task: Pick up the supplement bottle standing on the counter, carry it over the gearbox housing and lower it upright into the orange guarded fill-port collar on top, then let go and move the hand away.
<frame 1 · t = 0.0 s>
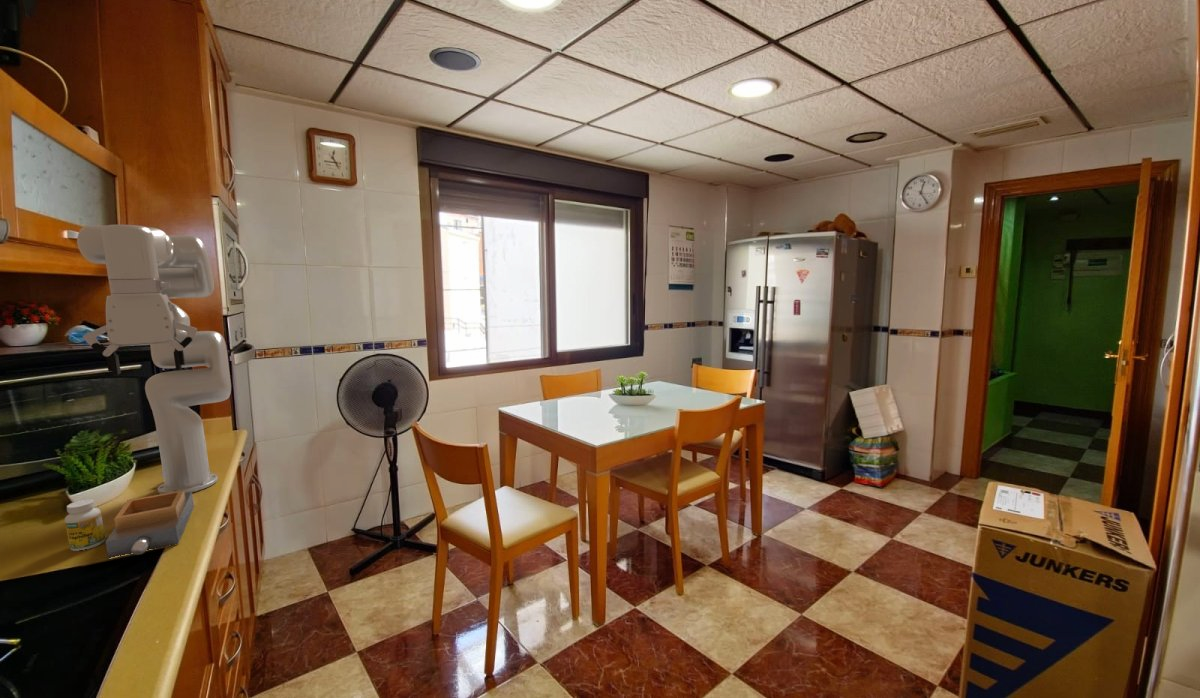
hand: (148, 371, 103), 37 cm above the table, tool pointing down, fingers open, 9 cm apart
supplement bottle: (88, 545, 107), on the table
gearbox: (155, 530, 113), on the table
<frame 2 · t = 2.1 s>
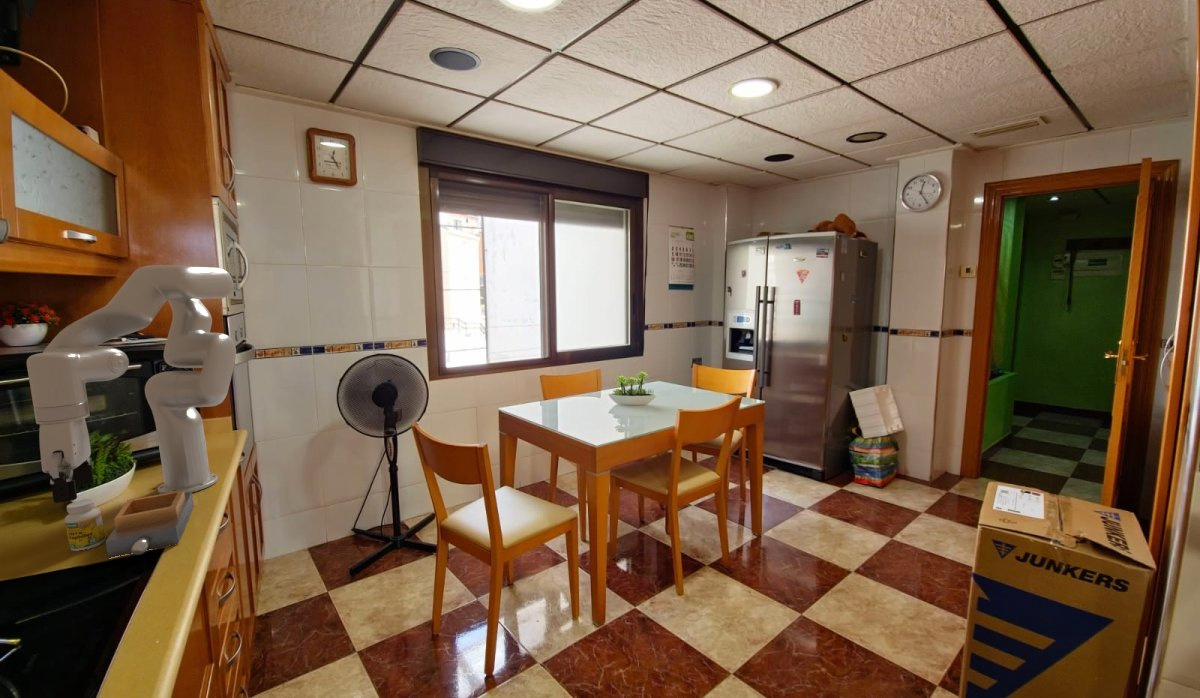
hand: (74, 492, 104), 12 cm above the table, tool pointing down, fingers open, 9 cm apart
nothing on the table moved.
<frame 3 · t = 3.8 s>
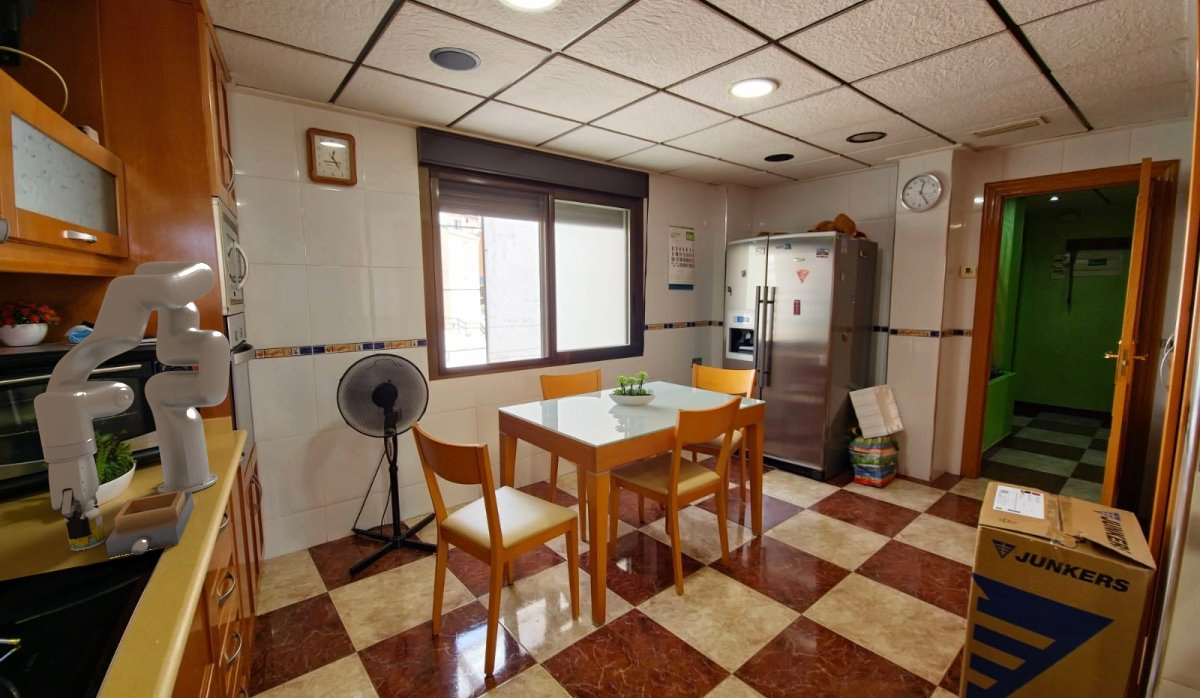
hand: (85, 529, 106), 3 cm above the table, tool pointing down, fingers closed on supplement bottle, 5 cm apart
supplement bottle: (88, 545, 107), on the table, touching gripper
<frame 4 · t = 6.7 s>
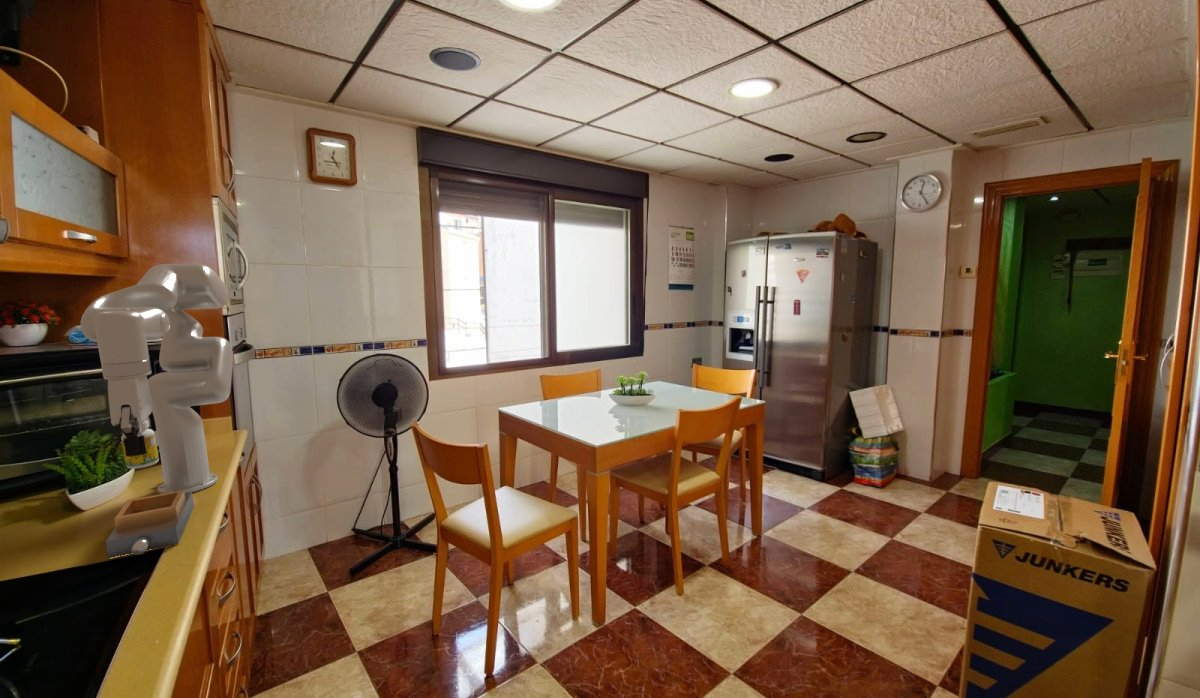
hand: (140, 449, 110), 19 cm above the table, tool pointing down, fingers closed on supplement bottle, 5 cm apart
supplement bottle: (143, 465, 110), point 16 cm above the table, touching gripper
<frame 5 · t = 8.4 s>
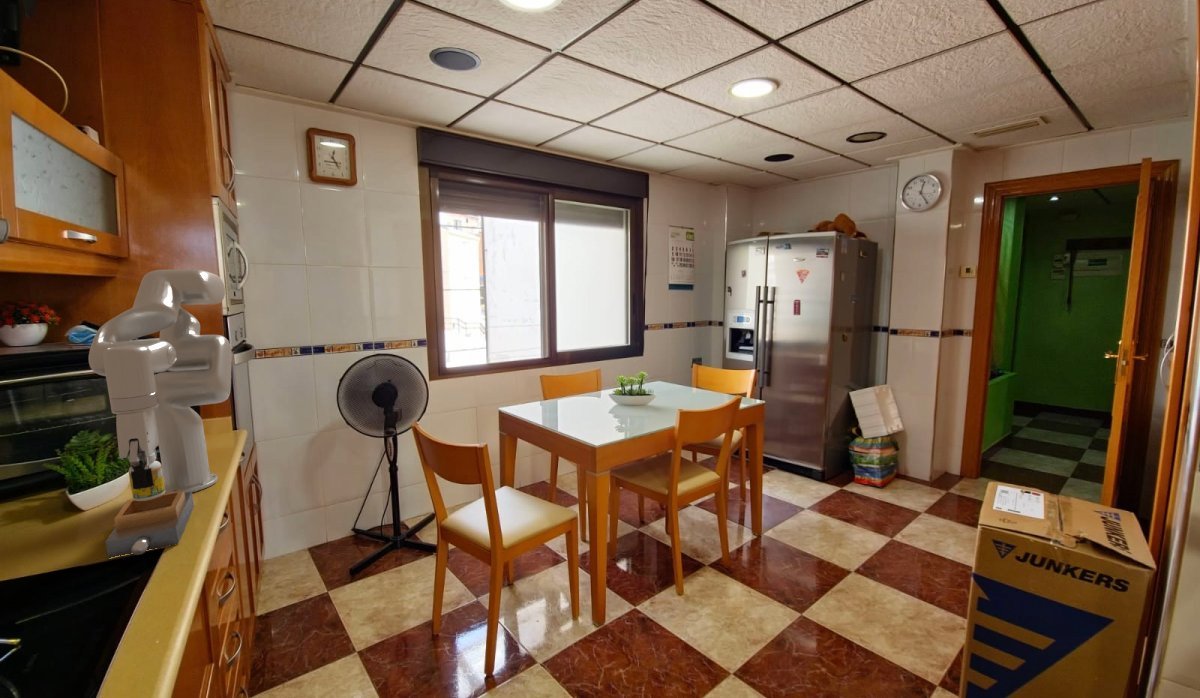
hand: (147, 481, 111), 12 cm above the table, tool pointing down, fingers closed on supplement bottle, 5 cm apart
supplement bottle: (149, 497, 111), point 8 cm above the table, touching gripper
when the fingers open (9 cm above the table, at t = 9.8 s): supplement bottle drops 1 cm, resting on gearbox.
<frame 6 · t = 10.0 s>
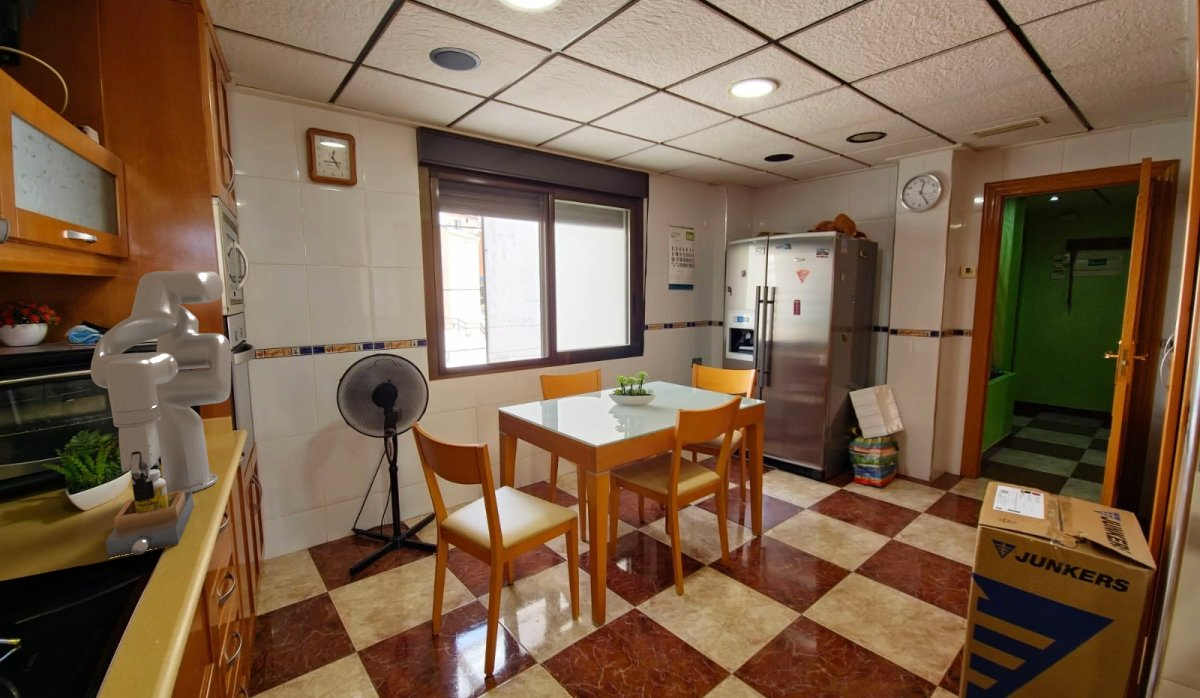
hand: (149, 492, 111), 9 cm above the table, tool pointing down, fingers open, 7 cm apart
supplement bottle: (153, 514, 112), point 4 cm above the table, touching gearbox
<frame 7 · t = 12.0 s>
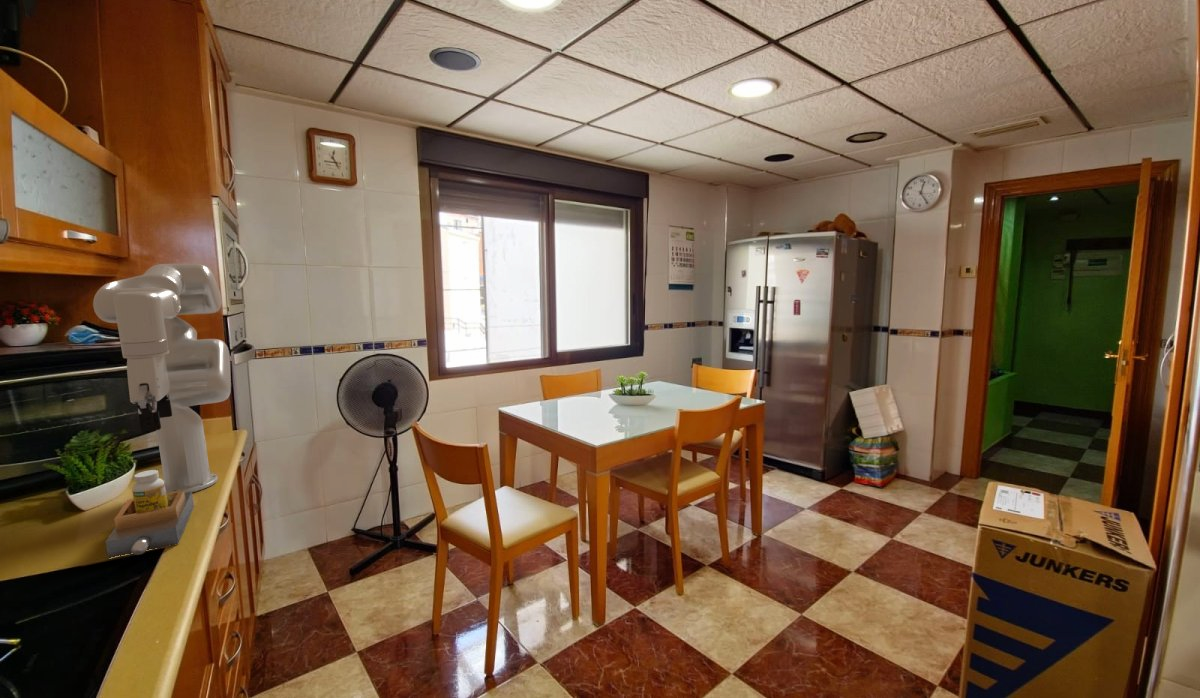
hand: (157, 423, 112), 24 cm above the table, tool pointing down, fingers open, 9 cm apart
nothing on the table moved.
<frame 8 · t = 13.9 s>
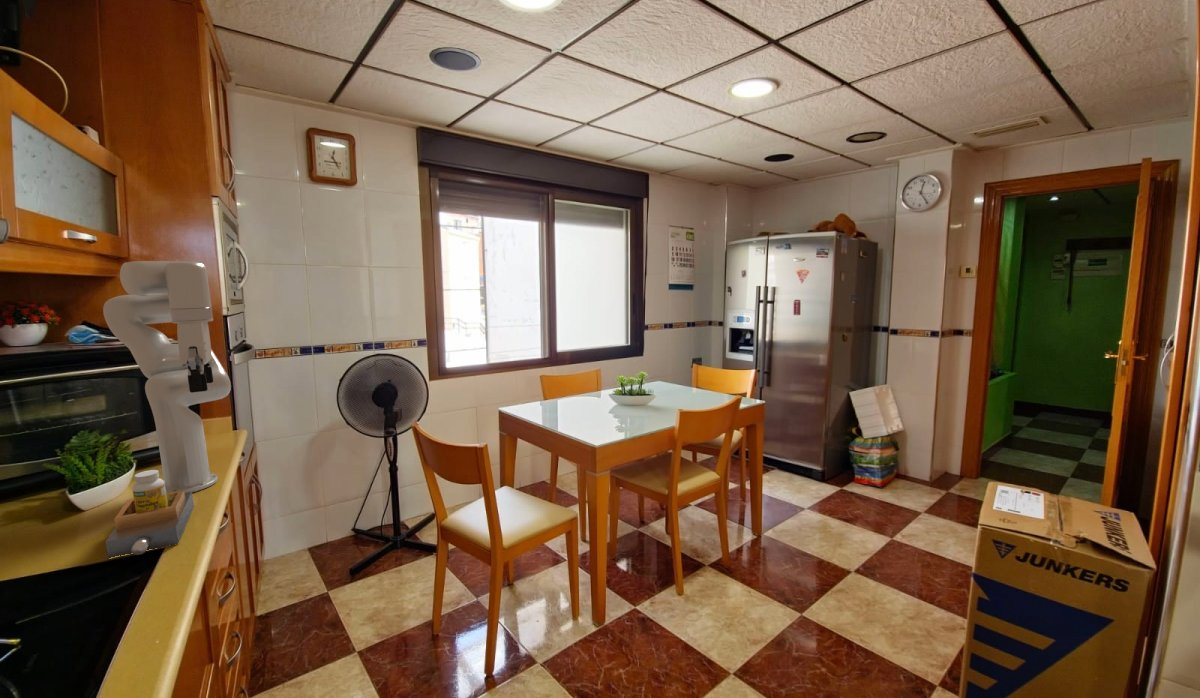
hand: (202, 387, 119), 30 cm above the table, tool pointing down, fingers open, 9 cm apart
nothing on the table moved.
at the end: supplement bottle 0.2 cm off-centre on the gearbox, point 3.8 cm above the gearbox's base; supplement bottle tilted 0°; the gripper is holding nothing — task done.
